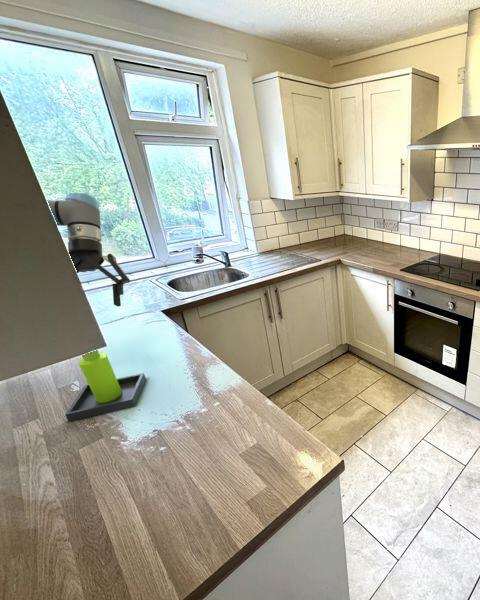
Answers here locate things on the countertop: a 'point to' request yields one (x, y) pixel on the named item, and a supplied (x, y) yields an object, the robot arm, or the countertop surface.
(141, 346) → the countertop surface
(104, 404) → the tray
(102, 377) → the soap dispenser
